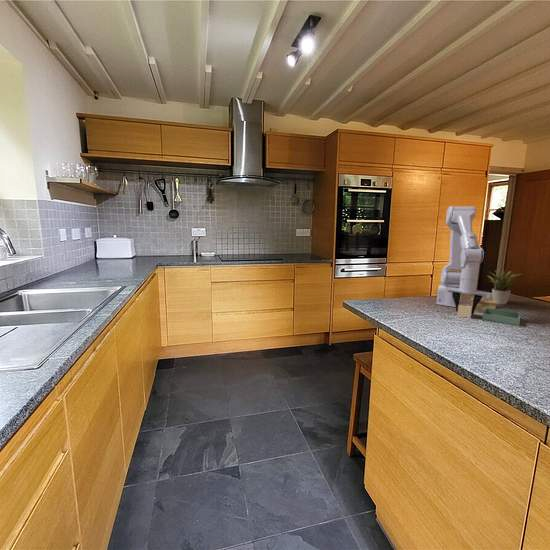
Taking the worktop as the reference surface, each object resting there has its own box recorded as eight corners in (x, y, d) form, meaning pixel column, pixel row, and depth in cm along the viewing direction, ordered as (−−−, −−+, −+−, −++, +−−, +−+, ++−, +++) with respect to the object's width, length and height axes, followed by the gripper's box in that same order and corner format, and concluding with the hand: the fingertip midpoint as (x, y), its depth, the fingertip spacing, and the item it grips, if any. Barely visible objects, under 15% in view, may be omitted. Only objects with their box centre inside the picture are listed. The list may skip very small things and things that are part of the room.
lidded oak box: (469, 310, 126) (470, 299, 125) (470, 307, 131) (472, 296, 130) (495, 314, 121) (496, 303, 120) (496, 311, 125) (497, 300, 124)
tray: (482, 319, 114) (483, 313, 113) (484, 313, 122) (485, 307, 122) (519, 326, 107) (520, 319, 107) (518, 318, 116) (519, 312, 115)
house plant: (516, 301, 144) (521, 267, 141) (526, 308, 131) (531, 271, 129) (481, 298, 150) (485, 265, 147) (487, 304, 137) (492, 269, 134)
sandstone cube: (457, 316, 118) (458, 305, 118) (458, 313, 122) (460, 303, 121) (470, 318, 116) (471, 307, 115) (471, 315, 119) (473, 304, 118)
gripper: (446, 278, 118) (442, 311, 120) (491, 282, 109) (486, 318, 111) (449, 275, 123) (445, 307, 125) (492, 280, 114) (487, 314, 116)
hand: (464, 312), depth 118 cm, fingers closed on sandstone cube, 4 cm apart
